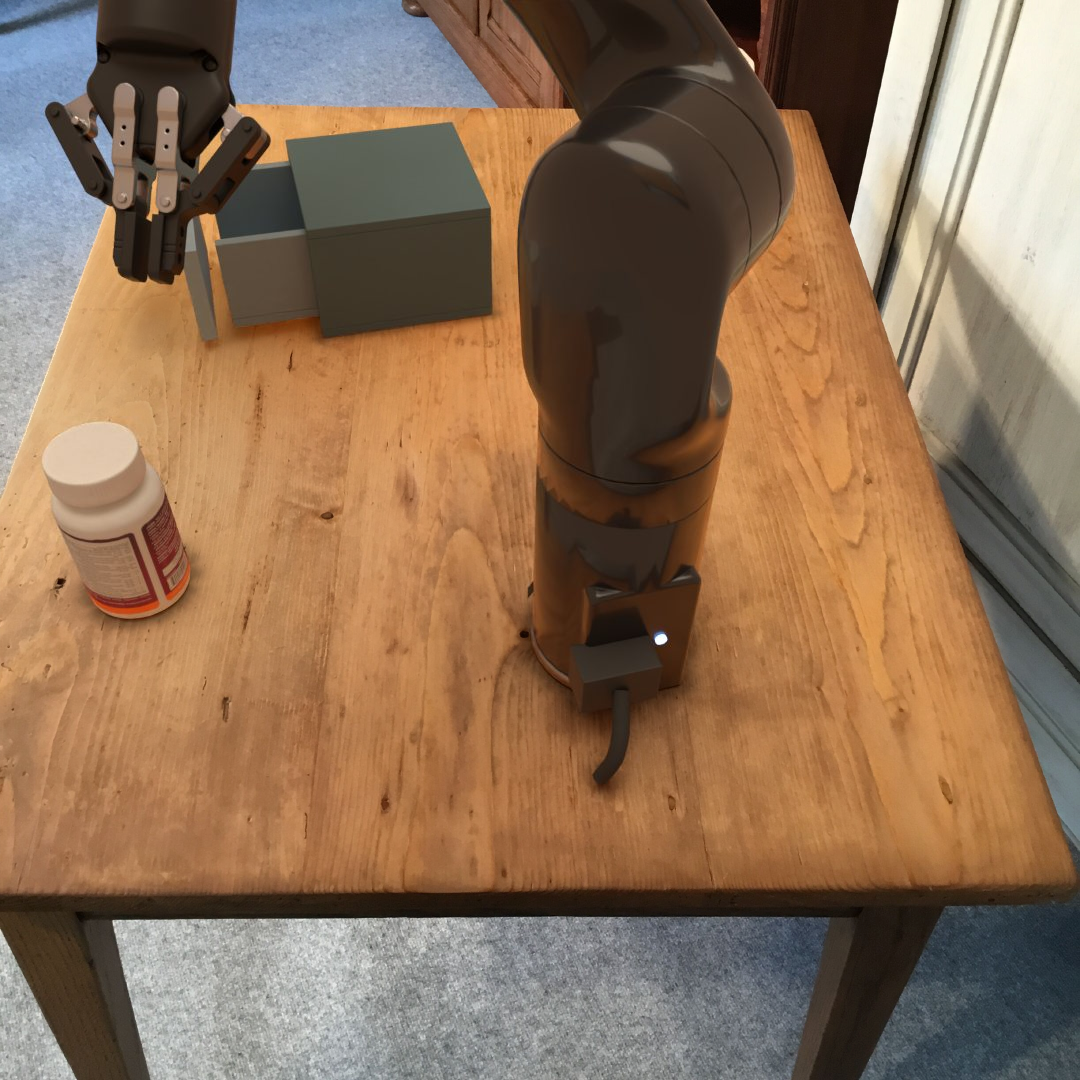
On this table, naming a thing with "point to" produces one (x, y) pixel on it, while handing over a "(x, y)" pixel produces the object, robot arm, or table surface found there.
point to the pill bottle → (115, 520)
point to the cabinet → (393, 228)
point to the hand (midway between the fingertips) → (146, 280)
